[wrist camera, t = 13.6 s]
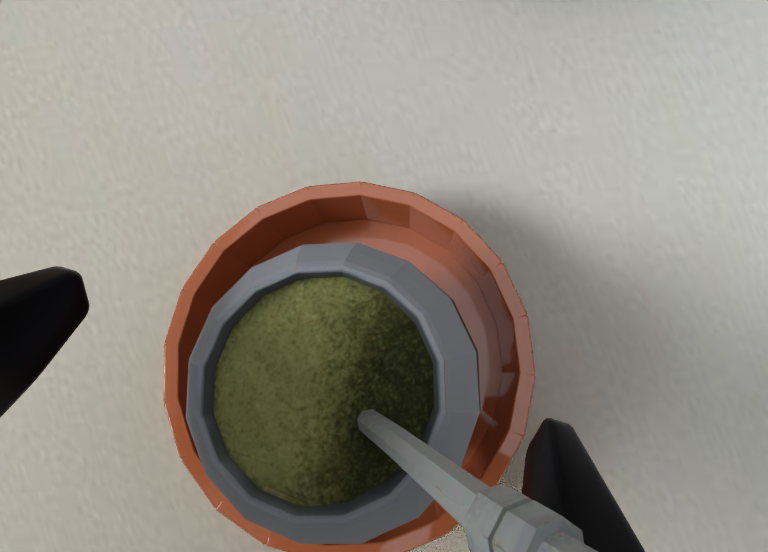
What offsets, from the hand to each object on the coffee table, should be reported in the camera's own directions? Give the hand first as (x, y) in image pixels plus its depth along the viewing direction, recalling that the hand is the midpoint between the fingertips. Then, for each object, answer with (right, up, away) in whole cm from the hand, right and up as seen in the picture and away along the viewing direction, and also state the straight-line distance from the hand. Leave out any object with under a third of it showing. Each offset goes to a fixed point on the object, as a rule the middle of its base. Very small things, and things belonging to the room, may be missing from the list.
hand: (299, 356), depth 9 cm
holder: (+1, -2, +9) cm, 9 cm away
